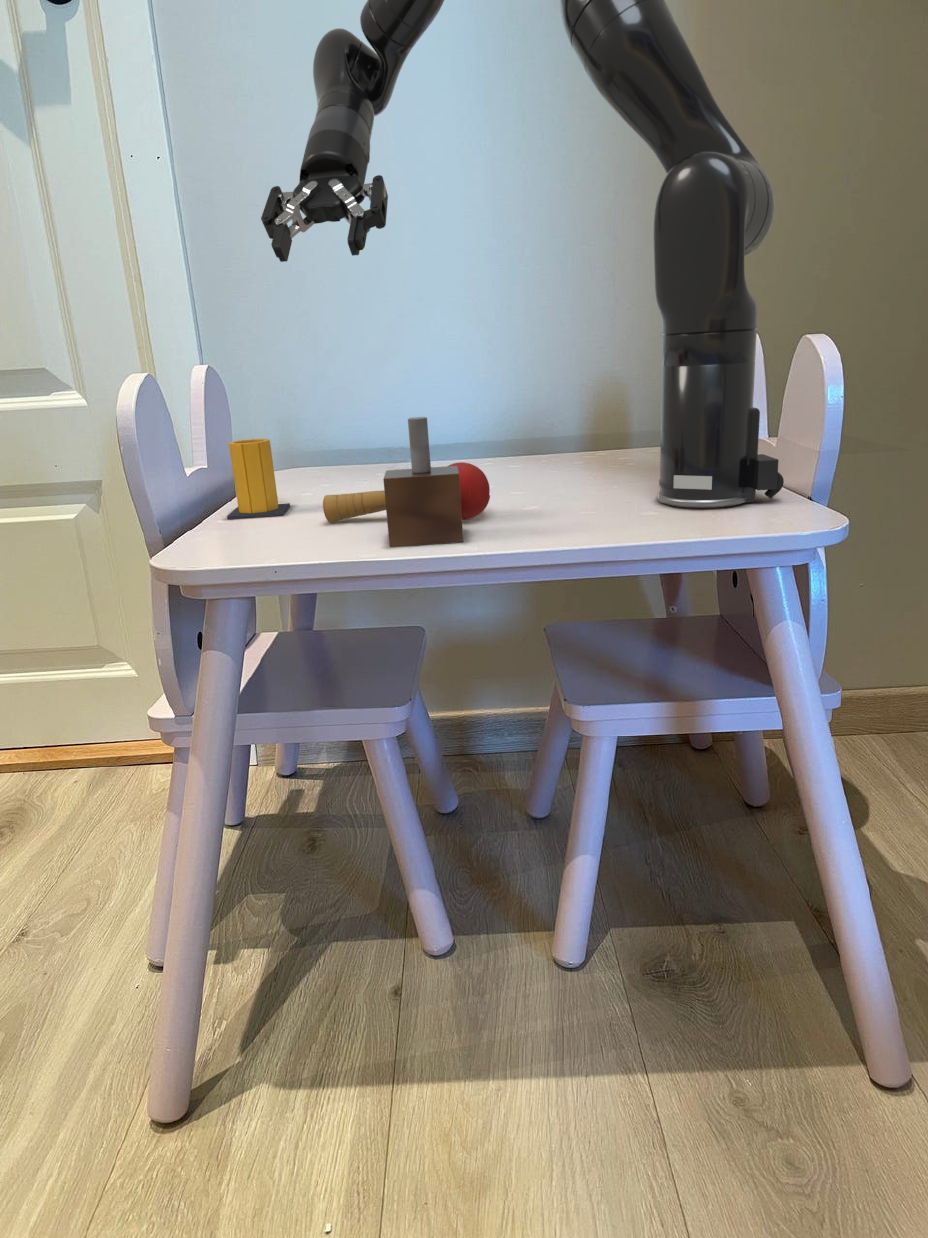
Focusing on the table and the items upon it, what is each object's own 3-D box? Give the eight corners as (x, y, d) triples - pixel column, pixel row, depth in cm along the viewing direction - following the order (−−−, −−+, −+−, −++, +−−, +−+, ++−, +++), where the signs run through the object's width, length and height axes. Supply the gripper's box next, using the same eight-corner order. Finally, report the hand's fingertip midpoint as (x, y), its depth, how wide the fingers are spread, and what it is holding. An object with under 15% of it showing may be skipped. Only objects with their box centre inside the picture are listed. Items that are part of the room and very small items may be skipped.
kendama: (319, 543, 87) (486, 516, 83) (308, 483, 86) (476, 452, 82) (344, 539, 94) (499, 513, 90) (334, 483, 93) (489, 455, 89)
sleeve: (286, 506, 99) (277, 438, 97) (260, 514, 95) (250, 443, 93) (256, 504, 101) (247, 438, 99) (230, 512, 98) (220, 443, 95)
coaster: (290, 506, 101) (289, 503, 101) (282, 515, 96) (282, 512, 96) (238, 509, 101) (237, 506, 101) (227, 519, 96) (226, 515, 96)
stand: (461, 530, 83) (454, 413, 79) (463, 542, 78) (455, 417, 74) (391, 535, 83) (381, 417, 79) (389, 547, 78) (378, 422, 74)
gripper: (269, 134, 98) (243, 229, 91) (386, 120, 95) (368, 217, 88) (291, 191, 104) (269, 284, 97) (401, 179, 102) (386, 274, 95)
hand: (316, 252), depth 93 cm, fingers open, 8 cm apart
